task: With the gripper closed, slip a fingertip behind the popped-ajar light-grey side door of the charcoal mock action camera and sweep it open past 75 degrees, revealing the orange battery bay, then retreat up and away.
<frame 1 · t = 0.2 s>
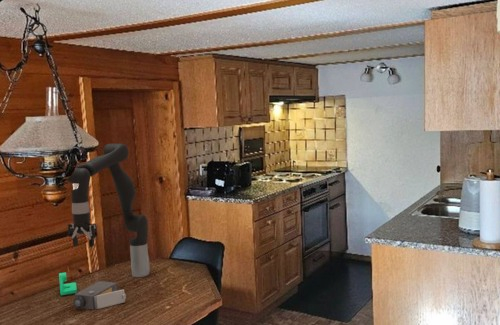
hand: (83, 246, 227), 28 cm above the table, fingers open, 8 cm apart
side door: (110, 299, 227), point 3 cm above the table, hinge at 35.0°
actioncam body: (97, 301, 234), on the table
camera mount: (68, 292, 249), on the table
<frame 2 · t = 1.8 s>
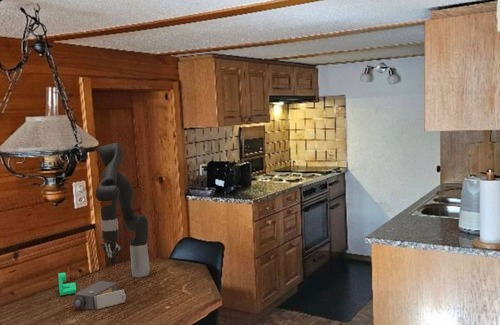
hand: (112, 264, 231), 18 cm above the table, fingers closed
nothing on the table moved.
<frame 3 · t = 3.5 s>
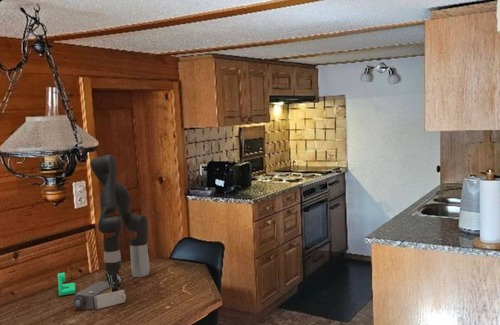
hand: (115, 295, 232), 4 cm above the table, fingers closed
side door: (110, 299, 227), point 3 cm above the table, hinge at 35.3°, touching gripper
everything else where it was.
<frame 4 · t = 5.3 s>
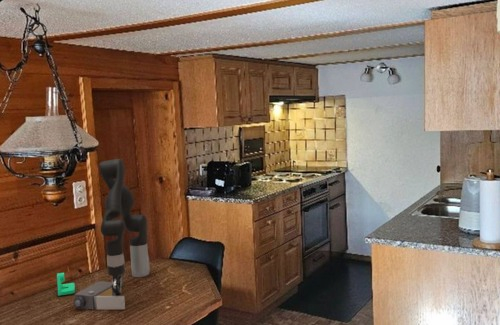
hand: (118, 299, 226), 4 cm above the table, fingers closed
side door: (109, 303, 223), point 3 cm above the table, hinge at 73.7°, touching gripper
everything else where it was.
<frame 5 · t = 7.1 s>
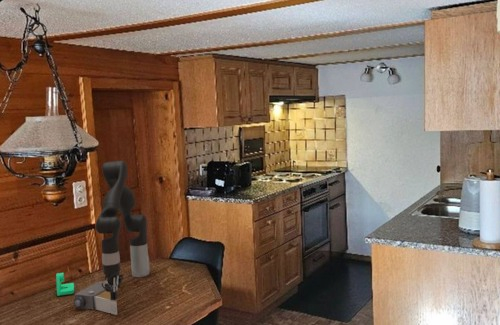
hand: (114, 299, 221), 6 cm above the table, fingers closed
side door: (104, 305, 220), point 3 cm above the table, hinge at 101.4°
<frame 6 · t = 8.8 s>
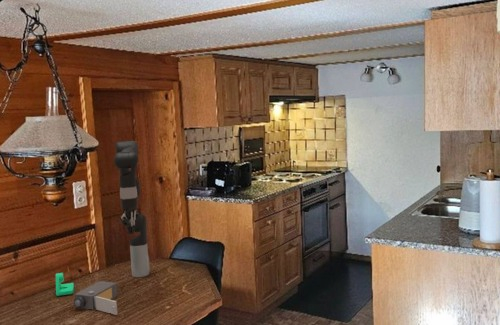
hand: (131, 233, 227), 33 cm above the table, fingers closed
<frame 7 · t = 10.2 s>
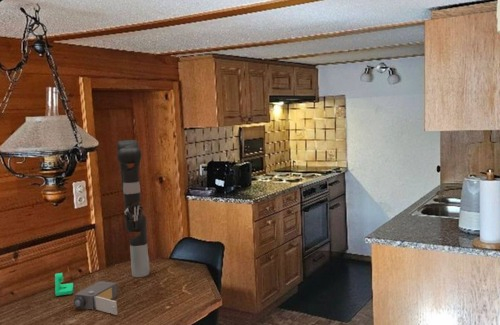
hand: (134, 228, 228), 35 cm above the table, fingers closed
at the end: side door at +101° (first picture: +35°); camera mount moved 1.9 cm from its start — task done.
